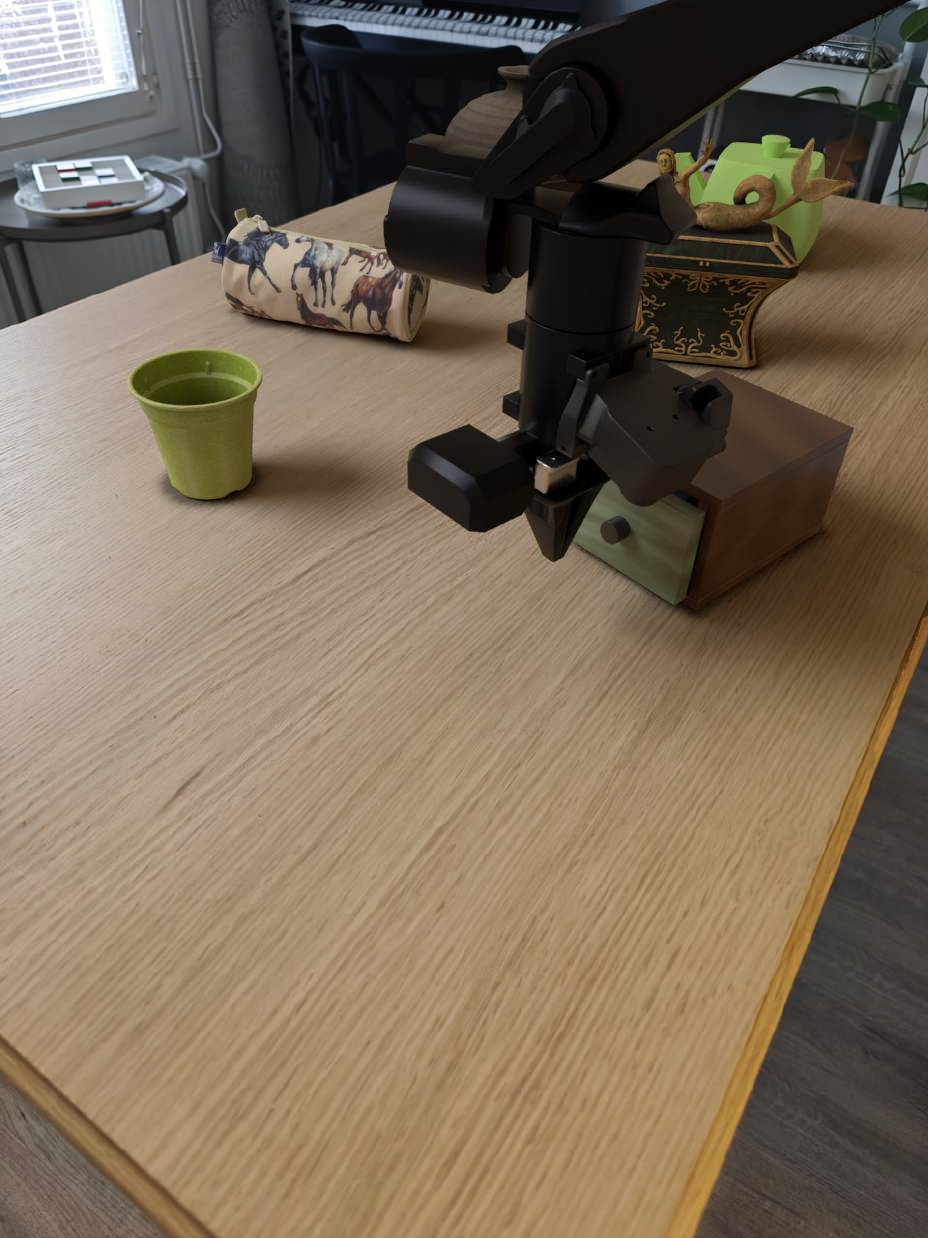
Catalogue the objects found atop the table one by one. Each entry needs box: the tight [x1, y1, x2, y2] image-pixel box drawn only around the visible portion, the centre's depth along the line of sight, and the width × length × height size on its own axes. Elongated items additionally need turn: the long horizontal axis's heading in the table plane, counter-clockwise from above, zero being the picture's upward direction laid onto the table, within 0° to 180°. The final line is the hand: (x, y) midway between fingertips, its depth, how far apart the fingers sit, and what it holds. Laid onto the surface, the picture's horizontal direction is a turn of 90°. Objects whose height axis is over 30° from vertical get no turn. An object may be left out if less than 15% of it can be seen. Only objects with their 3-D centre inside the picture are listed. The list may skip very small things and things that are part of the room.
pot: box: [444, 64, 581, 193], centre depth 107 cm, size 18×18×20 cm
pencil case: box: [210, 207, 432, 343], centre depth 92 cm, size 22×8×10 cm, turn 70°
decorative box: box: [635, 137, 854, 369], centre depth 86 cm, size 20×10×20 cm, turn 80°
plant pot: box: [126, 347, 263, 500], centre depth 69 cm, size 9×9×9 cm
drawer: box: [572, 480, 710, 606], centre depth 64 cm, size 15×10×7 cm
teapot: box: [674, 134, 826, 264], centre depth 111 cm, size 18×20×13 cm
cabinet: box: [679, 367, 855, 611], centre depth 65 cm, size 15×12×9 cm
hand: (552, 557), depth 57 cm, fingers closed
